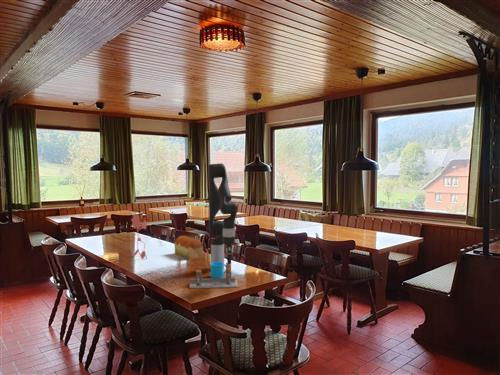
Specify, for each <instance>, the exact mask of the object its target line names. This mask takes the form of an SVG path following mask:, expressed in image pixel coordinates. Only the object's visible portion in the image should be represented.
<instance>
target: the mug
mask: <svg viewBox="0 0 500 375" xmlns="http://www.w3.org/2000/svg"><path fill="white" fill-rule="evenodd" d="M223 265H224V268H226V263H224V264H223V263H221V262H214V263H211V262H210V278H224V274H225V275H226V269H225V270H224V269H223Z"/></svg>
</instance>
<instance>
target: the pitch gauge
mask: <svg viewBox="0 0 500 375" xmlns="http://www.w3.org/2000/svg"><path fill="white" fill-rule="evenodd" d="M195 275H196V276H195V278H190V279H189V282H190V283H189V289H215V288H216V289H217V288H238V286H239V284H238V279H236V277H231V279H230V282H228V279H226V277H221V278H212V277H210V278H207V277H206V278H202V270H201V269H196V270H195Z"/></svg>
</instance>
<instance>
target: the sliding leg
mask: <svg viewBox="0 0 500 375" xmlns="http://www.w3.org/2000/svg"><path fill="white" fill-rule="evenodd" d="M225 265H226V267H225V270H226V273H225V278H226V279H228V282H230V279H231V278H232V263H231V264H228V263H227V262H226V263H225Z"/></svg>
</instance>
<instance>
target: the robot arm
mask: <svg viewBox="0 0 500 375" xmlns="http://www.w3.org/2000/svg"><path fill="white" fill-rule="evenodd" d="M207 172H208V173H207V176H208V208H209V209H208V210H209V211H208V214H209V215H208V216H209V217H208V233H209V234H210V235H218V236H217V237H215V238H212V239H211V240H210V264H211V263H214V262H221V263H223V264H225V252H226V260H227V261H226V263H228V264H231V265H232V256H233V244H235V243H236V228H235V227H236V226H235V225H236V218H237V213H238V209H239V207H238V204H237V203H236V202H234V201H232V199H233V198H232V194H231V191H230V188H229V182H228V174H227V168H226V166H225V164H224V163H210V164H208V167H207ZM220 178H221V182H220V184H219V186H217V185H216V182H215V179H220ZM231 201H232V202H231ZM219 211H220V213H221V214H222V215H229V216H227V217H225V218H223V220H215V218H216V215H217V214H219V213H218V212H219ZM224 269H225V266H224V265H223V270H224Z"/></svg>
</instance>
